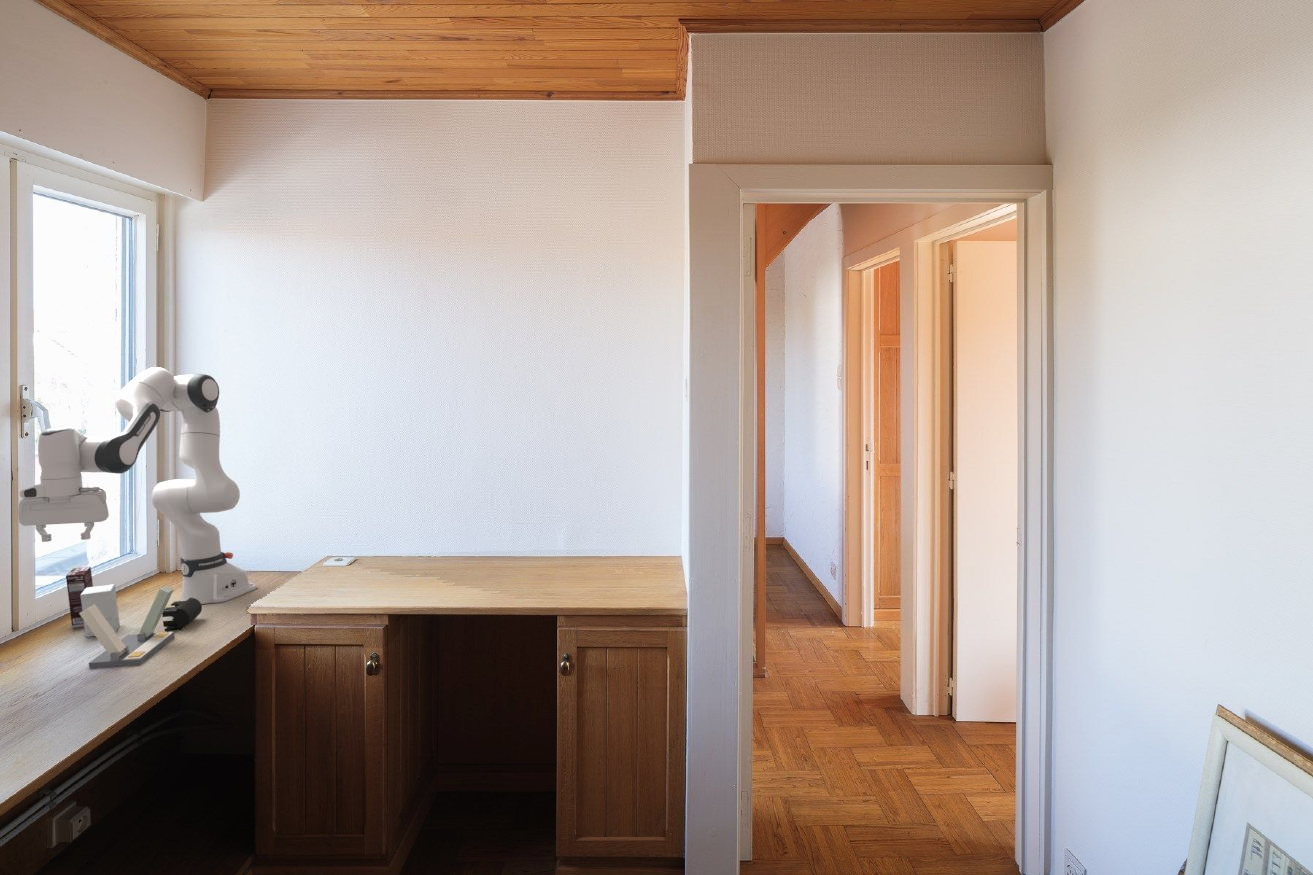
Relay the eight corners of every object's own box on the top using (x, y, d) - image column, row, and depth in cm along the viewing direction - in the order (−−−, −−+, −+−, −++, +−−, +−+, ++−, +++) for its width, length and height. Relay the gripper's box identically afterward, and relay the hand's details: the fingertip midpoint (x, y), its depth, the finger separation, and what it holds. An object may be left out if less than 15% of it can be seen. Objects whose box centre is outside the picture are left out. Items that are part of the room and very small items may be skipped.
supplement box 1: (78, 619, 246) (72, 568, 244) (97, 617, 247) (91, 565, 245) (70, 628, 238) (64, 575, 236) (90, 626, 240) (84, 573, 238)
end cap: (190, 630, 234) (187, 607, 233) (163, 632, 233) (161, 609, 232) (203, 618, 244) (201, 596, 243) (177, 620, 243) (175, 598, 242)
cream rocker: (113, 660, 209) (78, 613, 207) (120, 654, 213) (86, 608, 210) (121, 655, 209) (87, 608, 207) (128, 650, 213) (95, 603, 211)
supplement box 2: (120, 625, 240) (116, 583, 238) (115, 633, 233) (110, 590, 231) (90, 629, 237) (85, 586, 235) (84, 637, 230) (79, 594, 228)
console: (89, 668, 208) (87, 655, 207) (128, 640, 227) (127, 627, 227) (140, 664, 209) (138, 651, 209) (174, 636, 229) (173, 624, 228)
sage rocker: (137, 636, 223) (159, 589, 222) (143, 631, 226) (165, 585, 226) (145, 640, 223) (168, 592, 223) (152, 635, 227) (174, 588, 226)
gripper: (111, 485, 220) (115, 535, 221) (27, 488, 217) (31, 540, 218) (98, 488, 214) (103, 540, 215) (12, 492, 211) (17, 544, 212)
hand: (66, 540), depth 217 cm, fingers open, 8 cm apart
